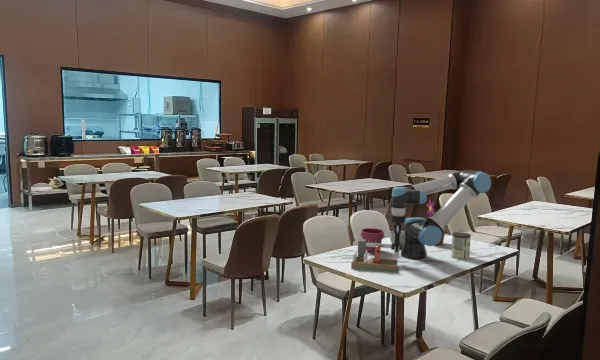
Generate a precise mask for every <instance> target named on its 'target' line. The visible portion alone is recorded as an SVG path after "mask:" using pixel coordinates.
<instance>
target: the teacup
mask: <svg viewBox="0 0 600 360" xmlns="http://www.w3.org/2000/svg"><path fill="white" fill-rule="evenodd" d="M389 239H390V242H391V244H392V243H395V233H394V230H391V231H389ZM400 242H401V244H404V230H402V229H401V234H400Z"/></svg>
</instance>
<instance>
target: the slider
mask: <svg viewBox="0 0 600 360" xmlns="http://www.w3.org/2000/svg"><path fill="white" fill-rule="evenodd" d="M403 244H404V243H403ZM403 244H400V247H399V251H401V250H402V249H403ZM393 245H395V243H392V242H391V243H381V244H380V243H365V246H367V247H375V253H374V257H373V258H374V264H380V261H381V258H382V256H381V255H382V250H381V248H383V249H391V250H393V251H394V247H395V246H393ZM352 246H354V247H355V246H356V247H358V241H353V242H352Z"/></svg>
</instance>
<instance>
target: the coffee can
mask: <svg viewBox="0 0 600 360" xmlns="http://www.w3.org/2000/svg"><path fill="white" fill-rule="evenodd" d="M471 236H472V235H471V233H467V232H462V231H461V232H460V231H457V232H452V239H451V256H450V257H451V258H453V259H455V260H462V261H464V260H465V261H467V260H469V259H470V252H471Z"/></svg>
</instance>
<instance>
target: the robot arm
mask: <svg viewBox="0 0 600 360" xmlns="http://www.w3.org/2000/svg"><path fill="white" fill-rule="evenodd" d="M491 186H492V180H491V177H490V175H489V174H487V172H483V171H482V170H481V171H479V170H472V169H471V170H470V169H465V170H459V171H456V172H453V173H452V172H451V173H449V174H448V175H447V176H444V177H439V178H435V179H432V180H428V181H425V182H420V183H416V184H413V185H409V186H395V187H393V188H392V192H391V208H390V211H391V215H390V217H391V218H390V221H391V222H392V223H395V224H394V225H393V228H394V230H393V231H394V233H395V245H393V246H395V247H394V250H393V253H394V254H393V258H400V256H401V257H403V258H407V259H412V260H423V259H426V258H427V255H428V253H427V249H426V246H427V247H434V245H436V244H438V243H439V242H440V240H441V238H442V237H441V236H442V233H443V232H444V228H445V227H446V226H447V225H448V224H449V223H450V221H452V220H453V219H454V218H455V216H456V215H457V214H458V213H459V212H460V211H461V210H462V209H463V208H464V207H465V206H466V205H467V203H469V201H471V199H477V198H478V197H479V195H481V194H484V193H487V192H488V191H489V190H490V189H491ZM446 190H456V192H454V193H453V194H452V195H451V196H450V197H449V199H447V201H446V202H445V203H444V204H443V205H442V206H441V207H440V208H439V209H438V211H436V212H435V215H434V214H433V215H432V217H430V216H427V218H425V217H406V208H407V206H406V205H422V204H425V203H426V202H427V201H428V200H427V199H428V197H427V195H431V194H435V193H439V192H443V191H446ZM402 224H404V230H403V231H404V243H403V249H402V250H399V247H400V244H401V242H400V234H401V230H402Z"/></svg>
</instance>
